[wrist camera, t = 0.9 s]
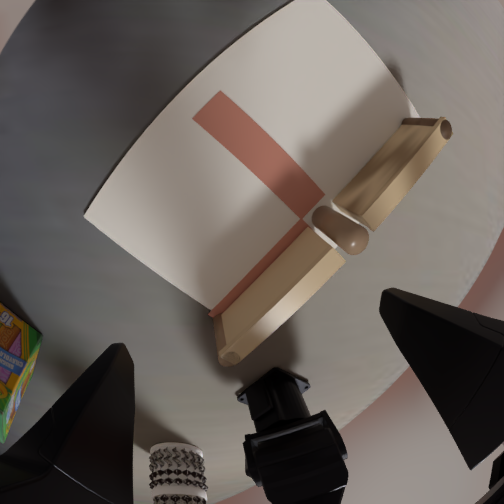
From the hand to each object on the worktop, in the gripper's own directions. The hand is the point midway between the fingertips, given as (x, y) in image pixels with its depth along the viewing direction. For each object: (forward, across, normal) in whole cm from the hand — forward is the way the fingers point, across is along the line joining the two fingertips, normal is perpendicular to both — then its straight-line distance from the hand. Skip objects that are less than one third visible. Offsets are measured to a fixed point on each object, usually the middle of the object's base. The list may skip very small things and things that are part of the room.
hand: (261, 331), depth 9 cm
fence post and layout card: (+13, -5, -4) cm, 14 cm away
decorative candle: (+14, +14, +35) cm, 40 cm away
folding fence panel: (+13, -13, -3) cm, 19 cm away
